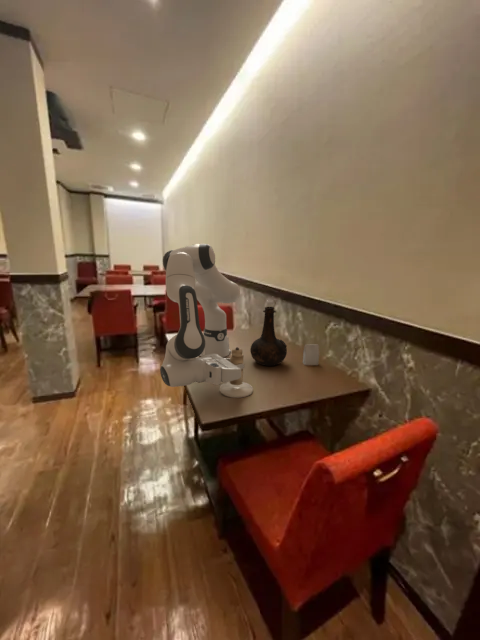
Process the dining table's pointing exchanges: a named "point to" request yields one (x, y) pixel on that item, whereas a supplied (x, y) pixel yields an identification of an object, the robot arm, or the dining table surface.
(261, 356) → the glass bottle
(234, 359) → the pepper mill
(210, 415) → the dining table surface
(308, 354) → the white box
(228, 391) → the cream plate
